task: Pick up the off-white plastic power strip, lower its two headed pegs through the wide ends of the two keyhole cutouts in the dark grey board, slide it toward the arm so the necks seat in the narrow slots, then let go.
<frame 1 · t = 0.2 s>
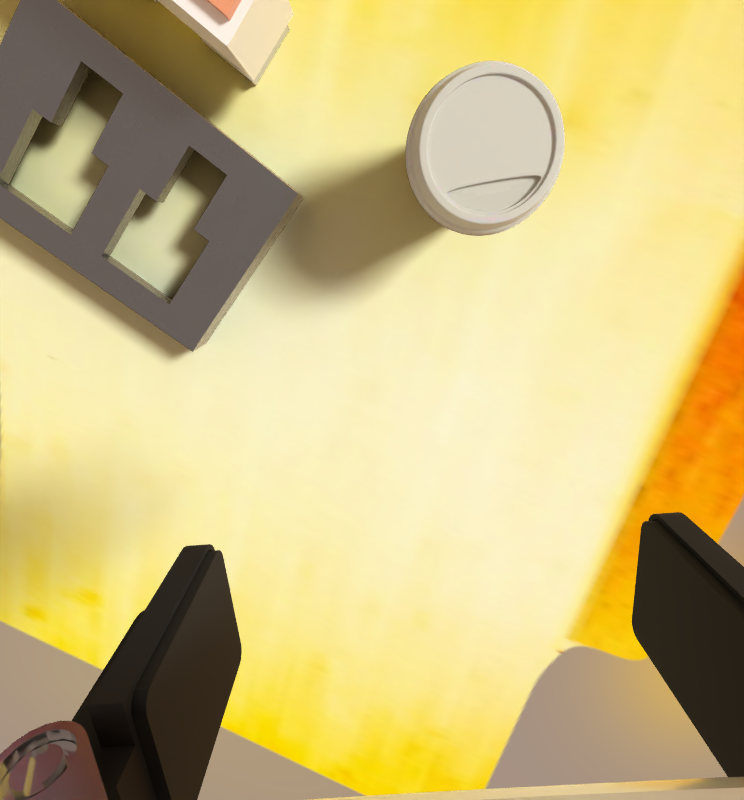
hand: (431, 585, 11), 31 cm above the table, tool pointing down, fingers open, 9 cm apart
keyhole board: (140, 189, 37), on the table
coffee cup: (454, 175, 37), on the table
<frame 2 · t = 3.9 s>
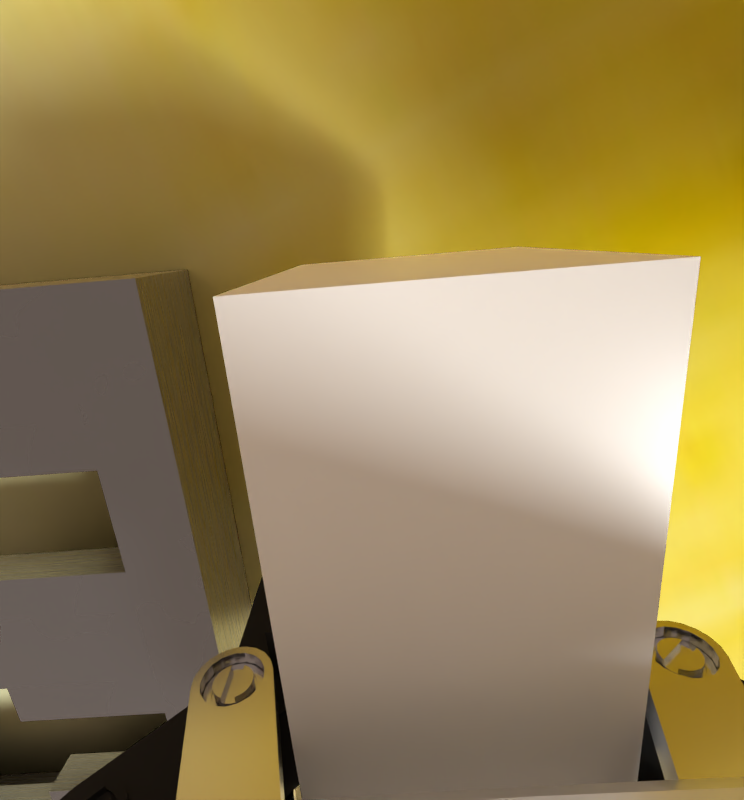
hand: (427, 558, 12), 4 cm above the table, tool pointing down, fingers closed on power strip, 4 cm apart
keyhole board: (44, 583, 17), on the table
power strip: (413, 478, 16), on the table, touching gripper
when the fingers open (5 cm above the table, at t = 10.4 s): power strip stays where it is, resting in keyhole board.
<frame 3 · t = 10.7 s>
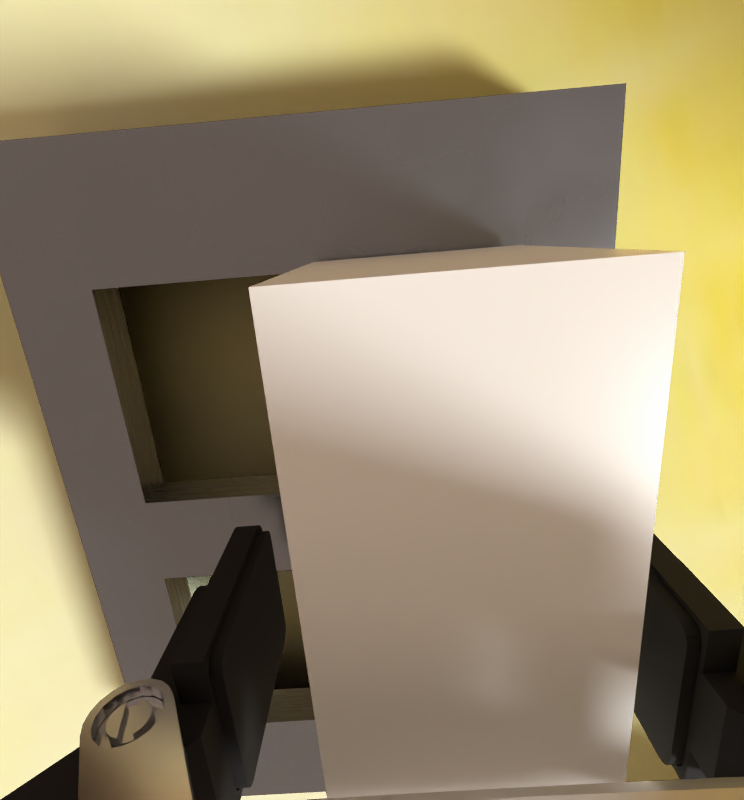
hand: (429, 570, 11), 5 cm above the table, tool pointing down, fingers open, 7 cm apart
keyhole board: (343, 475, 16), on the table
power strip: (417, 469, 16), resting in keyhole board
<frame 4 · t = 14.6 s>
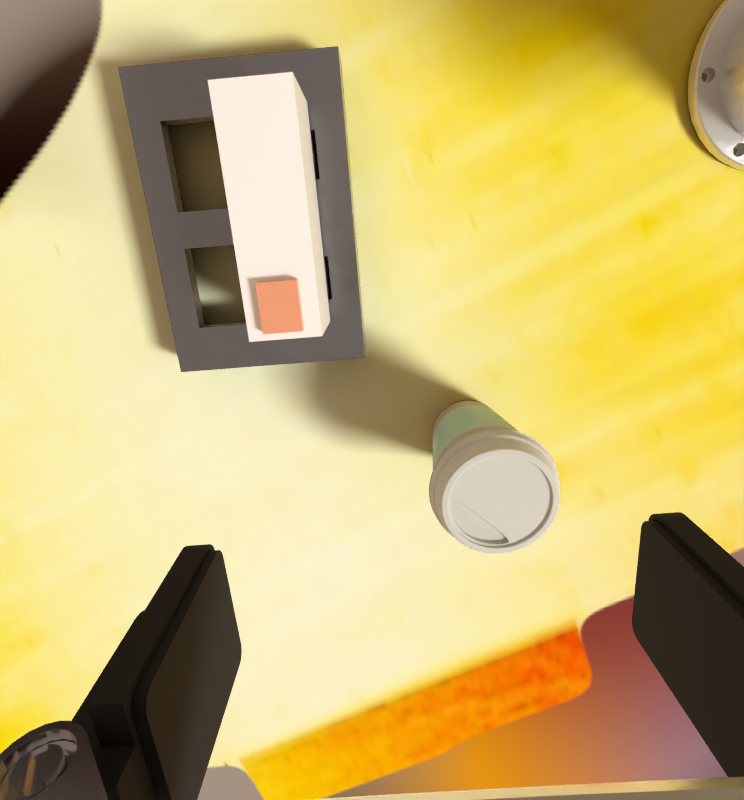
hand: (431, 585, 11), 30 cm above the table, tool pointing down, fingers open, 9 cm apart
keyhole board: (261, 225, 37), on the table
coffee cup: (465, 431, 43), on the table
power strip: (294, 222, 37), resting in keyhole board
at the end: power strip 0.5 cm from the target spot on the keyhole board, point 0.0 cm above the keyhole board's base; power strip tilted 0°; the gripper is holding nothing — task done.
